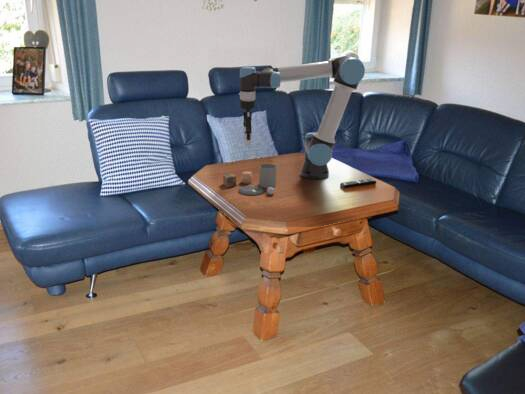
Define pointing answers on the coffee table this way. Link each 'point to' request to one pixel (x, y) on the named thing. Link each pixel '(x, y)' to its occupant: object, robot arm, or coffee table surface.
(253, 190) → the coaster
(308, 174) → the robot arm
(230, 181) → the walnut block
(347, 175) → the coffee table surface
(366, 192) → the coffee table surface
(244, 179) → the peach capsule shape
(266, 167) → the cup
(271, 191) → the grey ball
